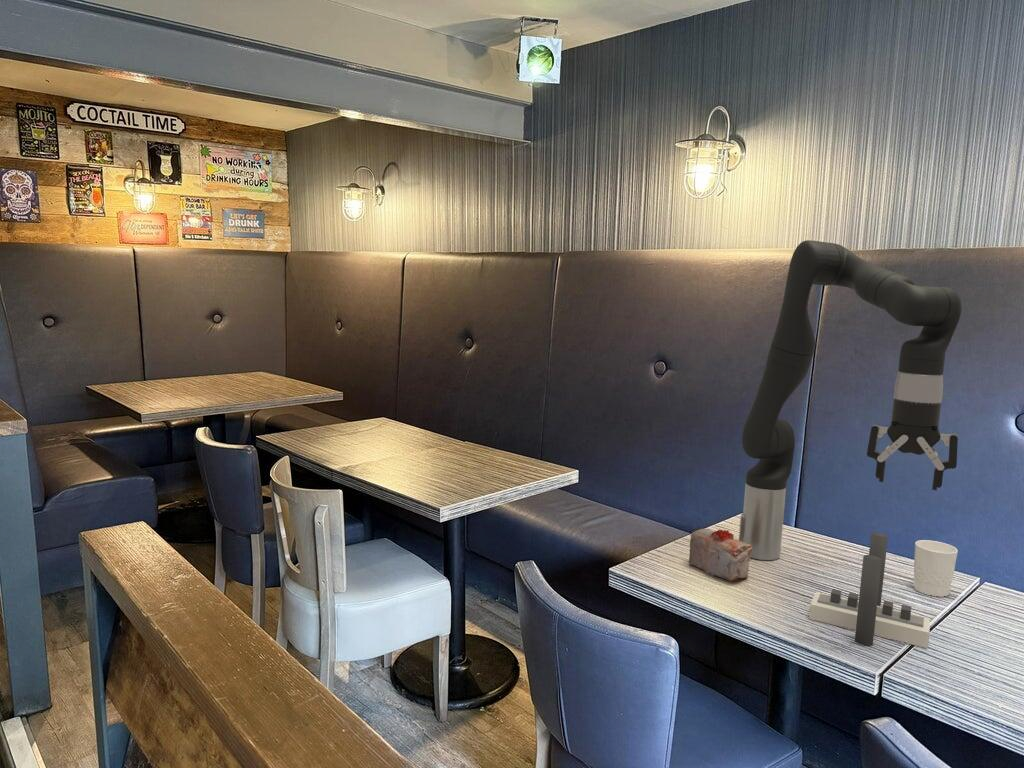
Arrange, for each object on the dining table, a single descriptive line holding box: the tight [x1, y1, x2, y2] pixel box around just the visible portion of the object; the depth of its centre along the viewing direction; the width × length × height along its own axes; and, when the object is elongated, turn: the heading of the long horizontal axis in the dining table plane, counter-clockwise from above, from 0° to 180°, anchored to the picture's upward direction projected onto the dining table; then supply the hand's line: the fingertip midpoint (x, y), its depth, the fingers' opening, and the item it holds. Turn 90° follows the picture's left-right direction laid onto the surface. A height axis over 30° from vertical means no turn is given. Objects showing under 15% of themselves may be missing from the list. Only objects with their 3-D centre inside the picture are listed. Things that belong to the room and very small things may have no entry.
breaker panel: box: [808, 588, 931, 649], centre depth 136 cm, size 20×7×5 cm, turn 58°
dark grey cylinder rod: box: [868, 531, 889, 607], centre depth 141 cm, size 3×3×16 cm
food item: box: [688, 528, 752, 582], centre depth 159 cm, size 14×8×10 cm, turn 37°
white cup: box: [913, 539, 959, 598], centre depth 153 cm, size 8×8×10 cm
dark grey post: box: [854, 554, 882, 647], centre depth 129 cm, size 3×3×16 cm
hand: (907, 485), depth 130 cm, fingers open, 8 cm apart
